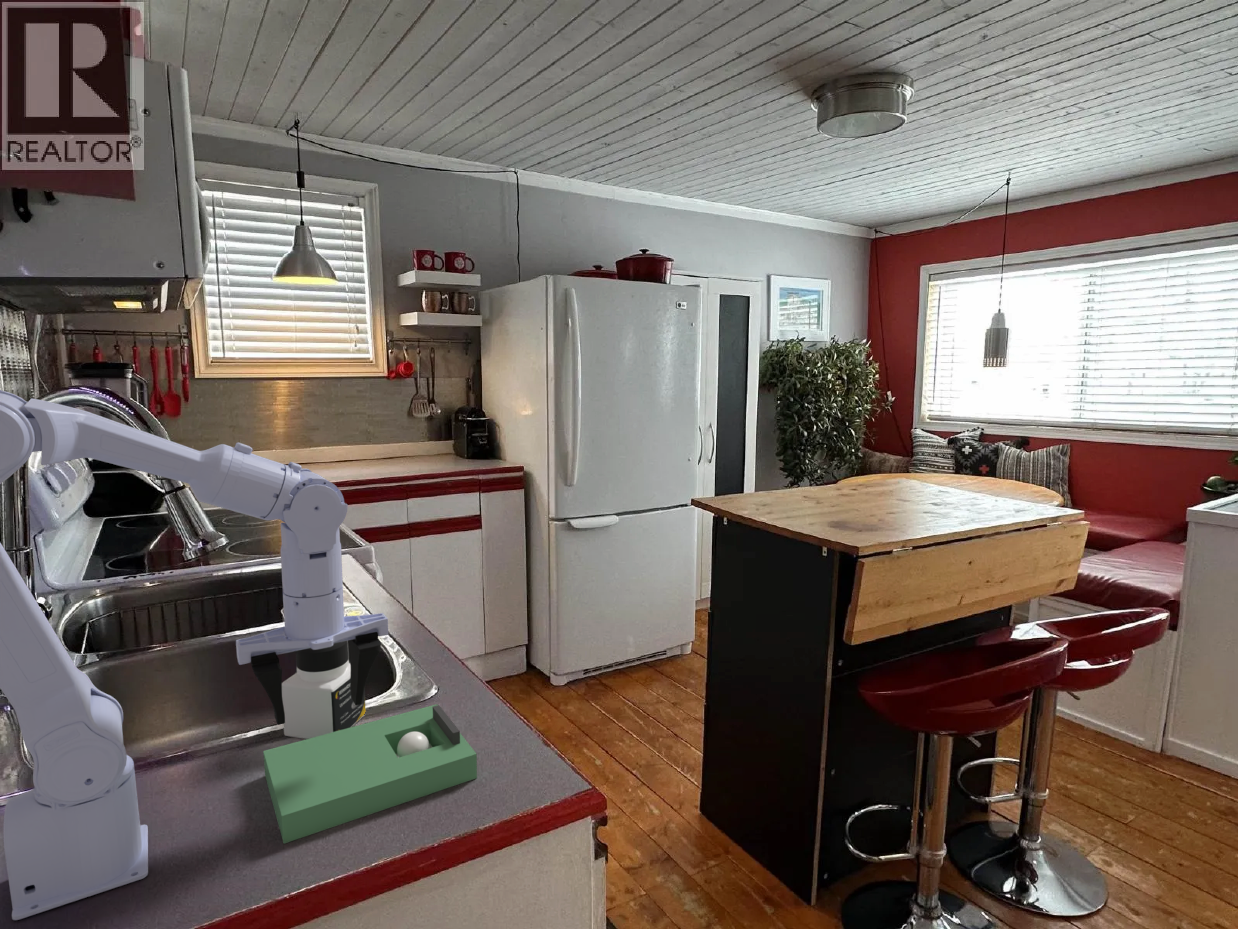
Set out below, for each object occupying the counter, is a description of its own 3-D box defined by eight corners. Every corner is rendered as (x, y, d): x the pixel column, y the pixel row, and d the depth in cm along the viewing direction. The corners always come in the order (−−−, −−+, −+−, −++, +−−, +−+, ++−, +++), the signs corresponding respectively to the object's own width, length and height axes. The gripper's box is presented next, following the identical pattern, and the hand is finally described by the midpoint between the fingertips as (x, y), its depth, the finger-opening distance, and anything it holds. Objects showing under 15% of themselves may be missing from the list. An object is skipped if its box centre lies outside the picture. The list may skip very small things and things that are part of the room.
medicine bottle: (334, 744, 86) (330, 651, 84) (282, 737, 87) (277, 645, 85) (366, 714, 92) (363, 628, 90) (318, 708, 94) (313, 623, 92)
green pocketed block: (283, 843, 68) (280, 802, 68) (264, 775, 79) (262, 738, 78) (476, 778, 79) (476, 741, 79) (437, 725, 90) (436, 693, 89)
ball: (439, 753, 82) (414, 777, 80) (429, 739, 85) (404, 761, 83) (422, 734, 80) (396, 758, 79) (412, 720, 83) (387, 742, 82)
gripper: (238, 614, 65) (247, 748, 68) (395, 588, 73) (398, 708, 76) (230, 591, 71) (239, 715, 73) (376, 569, 79) (380, 682, 81)
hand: (319, 710), depth 75 cm, fingers open, 7 cm apart
